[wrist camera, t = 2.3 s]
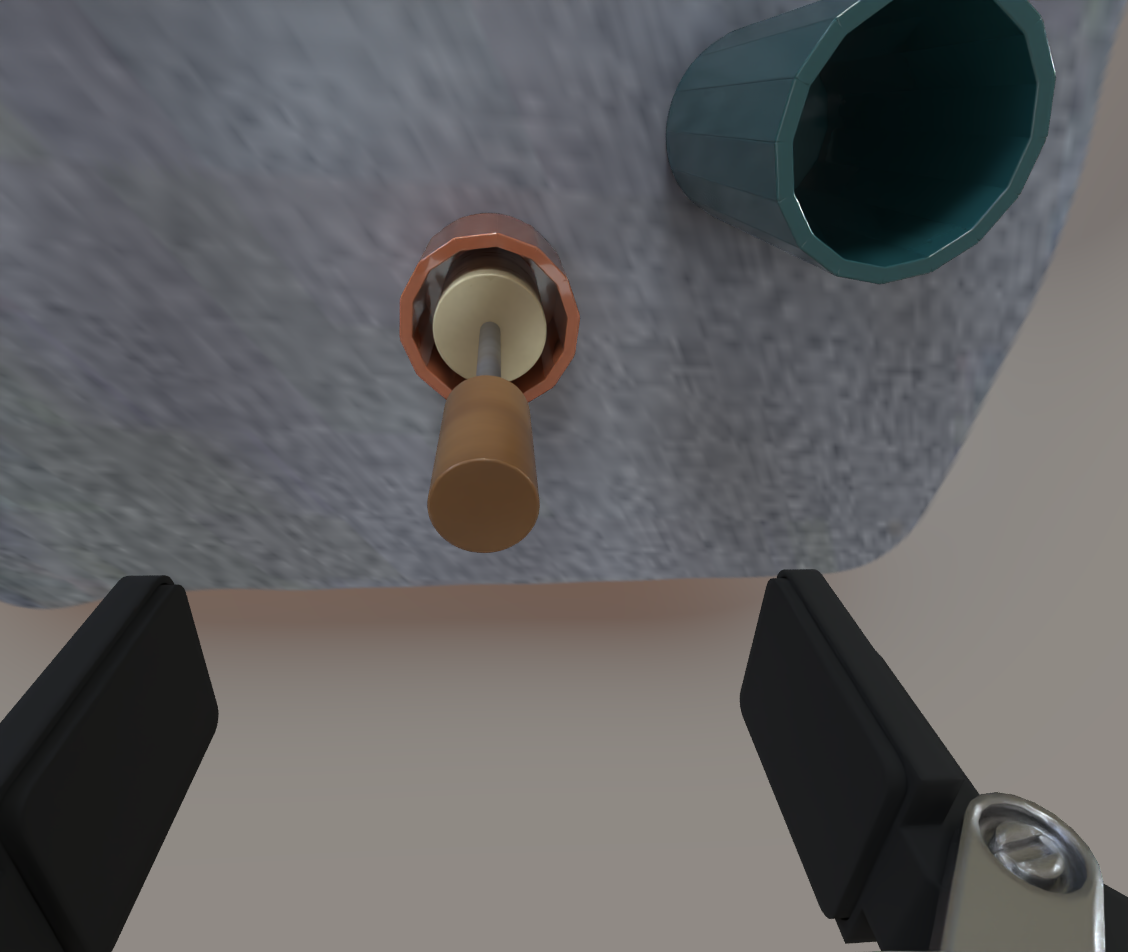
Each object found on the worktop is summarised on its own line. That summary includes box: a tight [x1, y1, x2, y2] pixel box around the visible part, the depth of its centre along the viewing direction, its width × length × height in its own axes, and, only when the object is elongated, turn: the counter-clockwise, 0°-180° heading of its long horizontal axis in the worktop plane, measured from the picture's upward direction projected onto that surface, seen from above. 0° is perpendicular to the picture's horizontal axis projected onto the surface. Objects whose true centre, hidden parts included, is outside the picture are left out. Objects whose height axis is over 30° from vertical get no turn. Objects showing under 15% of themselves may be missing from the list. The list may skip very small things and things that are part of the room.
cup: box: [666, 0, 1056, 284], centre depth 23 cm, size 7×7×13 cm
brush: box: [427, 247, 547, 553], centre depth 22 cm, size 4×4×19 cm
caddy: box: [400, 213, 580, 402], centre depth 28 cm, size 7×7×6 cm
